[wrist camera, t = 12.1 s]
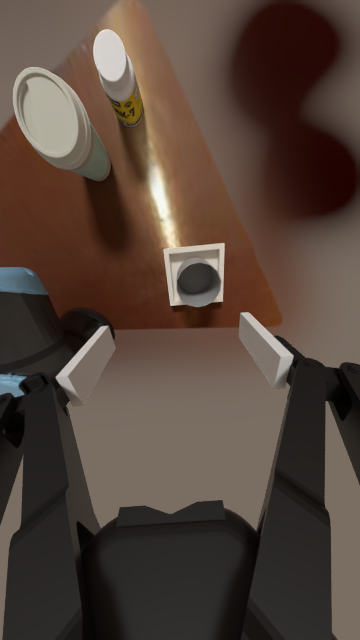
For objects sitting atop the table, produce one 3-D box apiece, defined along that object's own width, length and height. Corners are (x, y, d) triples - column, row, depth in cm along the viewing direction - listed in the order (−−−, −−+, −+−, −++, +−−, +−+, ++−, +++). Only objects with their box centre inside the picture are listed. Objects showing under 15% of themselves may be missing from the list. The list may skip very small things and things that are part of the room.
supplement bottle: (116, 126, 28) (91, 82, 20) (114, 84, 26) (86, 18, 18) (143, 130, 28) (129, 89, 20) (144, 89, 26) (128, 26, 18)
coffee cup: (83, 114, 27) (19, 30, 16) (126, 157, 29) (95, 109, 19) (64, 165, 30) (-2, 122, 19) (104, 201, 32) (66, 180, 22)
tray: (171, 302, 42) (170, 305, 40) (164, 248, 36) (163, 249, 34) (220, 298, 41) (222, 301, 39) (221, 243, 36) (224, 243, 33)
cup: (209, 292, 40) (218, 307, 31) (177, 292, 40) (176, 307, 31) (213, 257, 36) (223, 262, 27) (177, 256, 36) (176, 261, 27)
